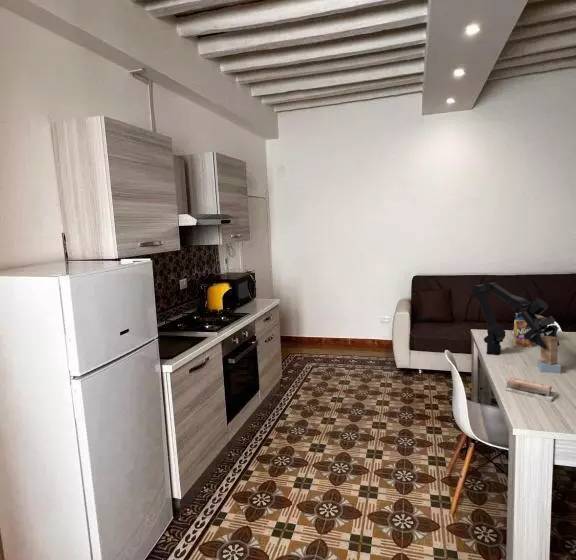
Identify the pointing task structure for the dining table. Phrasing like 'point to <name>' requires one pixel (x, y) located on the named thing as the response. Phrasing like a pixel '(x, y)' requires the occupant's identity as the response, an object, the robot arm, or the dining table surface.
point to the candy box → (521, 334)
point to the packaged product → (530, 389)
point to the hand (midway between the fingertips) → (552, 347)
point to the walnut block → (549, 350)
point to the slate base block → (549, 367)
